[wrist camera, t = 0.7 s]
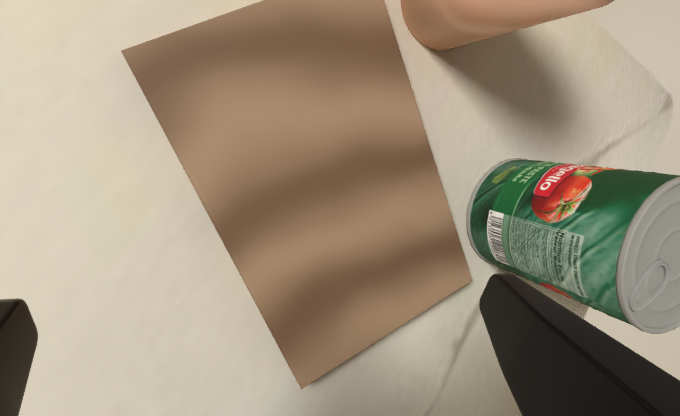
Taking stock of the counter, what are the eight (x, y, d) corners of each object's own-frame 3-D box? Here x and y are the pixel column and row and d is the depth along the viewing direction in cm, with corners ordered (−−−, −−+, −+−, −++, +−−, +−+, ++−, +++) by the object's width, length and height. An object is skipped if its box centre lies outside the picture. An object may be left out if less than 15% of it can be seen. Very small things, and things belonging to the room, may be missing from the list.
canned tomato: (522, 134, 29) (707, 139, 19) (565, 214, 32) (744, 255, 22) (445, 211, 28) (599, 260, 18) (498, 286, 31) (654, 364, 21)
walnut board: (458, 273, 29) (472, 280, 28) (294, 375, 26) (301, 389, 24) (359, -29, 23) (371, -38, 21) (124, 55, 19) (121, 50, 18)
